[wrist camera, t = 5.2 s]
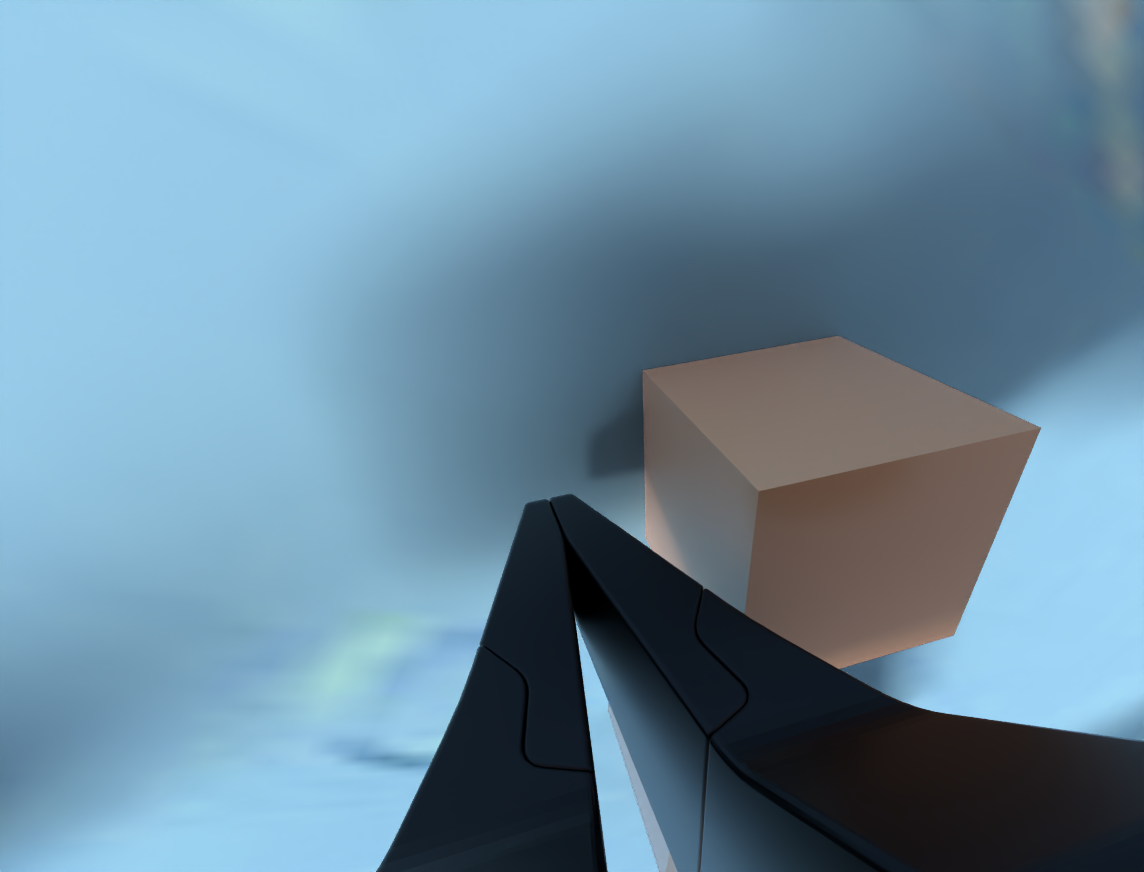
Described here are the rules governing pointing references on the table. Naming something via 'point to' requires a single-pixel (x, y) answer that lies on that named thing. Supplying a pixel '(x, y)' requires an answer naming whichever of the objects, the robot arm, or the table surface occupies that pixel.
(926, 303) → the table surface
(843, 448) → the terracotta block
